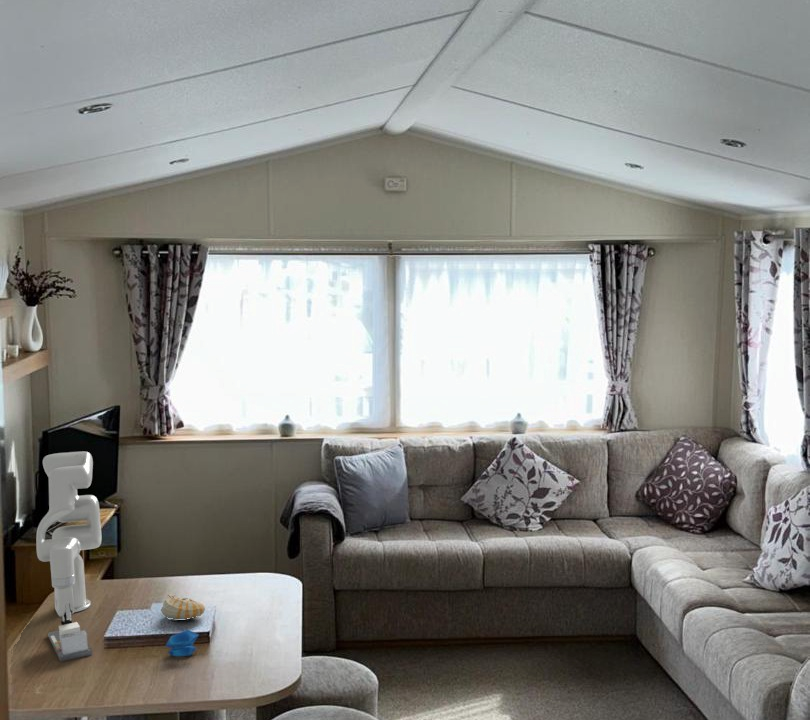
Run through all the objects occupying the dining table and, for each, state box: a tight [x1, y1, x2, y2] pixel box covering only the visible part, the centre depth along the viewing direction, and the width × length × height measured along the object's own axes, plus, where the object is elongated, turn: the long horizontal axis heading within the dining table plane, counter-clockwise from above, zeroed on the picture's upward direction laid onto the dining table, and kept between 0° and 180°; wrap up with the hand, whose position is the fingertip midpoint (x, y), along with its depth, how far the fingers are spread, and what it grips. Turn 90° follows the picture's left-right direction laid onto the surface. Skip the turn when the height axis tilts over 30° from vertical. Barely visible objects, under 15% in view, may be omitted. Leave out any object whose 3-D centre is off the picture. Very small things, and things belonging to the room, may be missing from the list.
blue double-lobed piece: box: [165, 629, 200, 658], centre depth 316 cm, size 7×9×12 cm
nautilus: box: [160, 595, 206, 619], centre depth 349 cm, size 8×22×15 cm
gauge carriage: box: [55, 621, 81, 644], centre depth 323 cm, size 5×8×5 cm, turn 120°
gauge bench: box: [47, 629, 93, 663], centre depth 326 cm, size 24×10×8 cm, turn 30°
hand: (67, 631), depth 328 cm, fingers closed
